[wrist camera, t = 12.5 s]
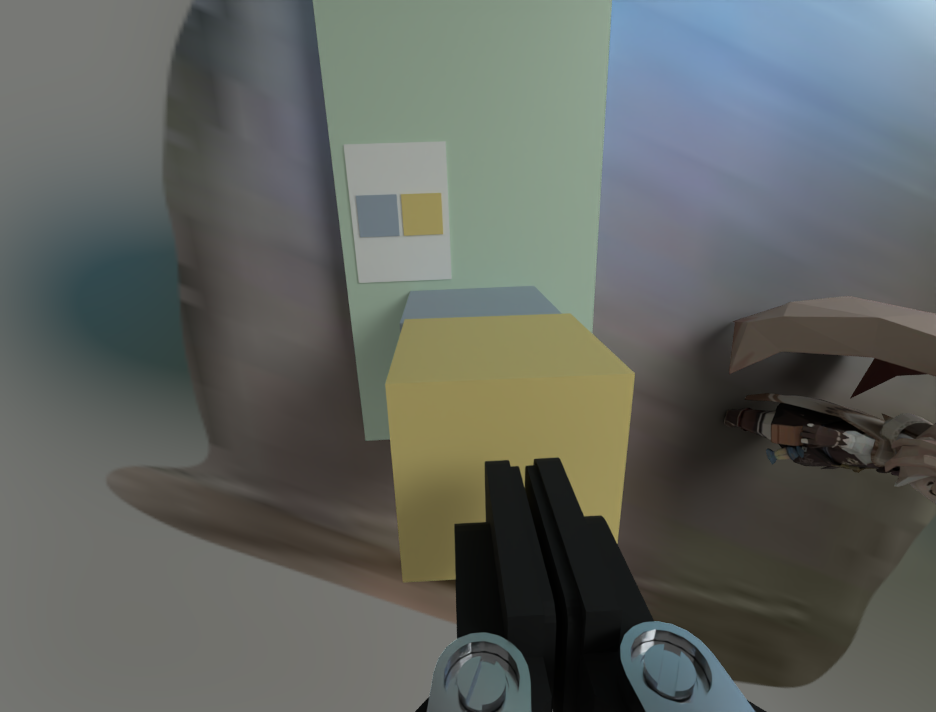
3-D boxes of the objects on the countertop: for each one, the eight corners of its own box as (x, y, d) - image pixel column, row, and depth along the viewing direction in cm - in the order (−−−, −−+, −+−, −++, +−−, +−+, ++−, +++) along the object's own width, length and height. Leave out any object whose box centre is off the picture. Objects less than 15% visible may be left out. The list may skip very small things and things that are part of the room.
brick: (404, 319, 17) (385, 383, 11) (570, 313, 17) (634, 373, 11) (414, 464, 19) (403, 582, 13) (562, 457, 19) (614, 569, 13)
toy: (673, 440, 26) (1008, 572, 12) (702, 293, 26) (1080, 234, 11) (813, 465, 28) (1284, 614, 13) (842, 324, 27) (1352, 307, 12)
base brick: (410, 291, 22) (399, 323, 17) (534, 285, 23) (564, 316, 17) (418, 404, 24) (411, 467, 19) (532, 398, 25) (559, 459, 19)
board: (312, -56, 19) (302, -75, 17) (606, -60, 19) (617, -78, 18) (368, 430, 26) (365, 442, 25) (580, 418, 26) (587, 430, 25)
